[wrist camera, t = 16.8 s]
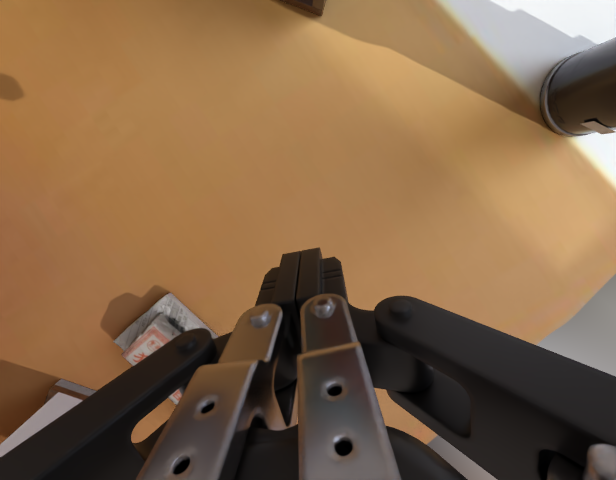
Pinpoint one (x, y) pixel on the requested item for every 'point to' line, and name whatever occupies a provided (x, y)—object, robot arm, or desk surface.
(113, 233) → the desk surface
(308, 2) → the book rack
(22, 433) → the notched white tower
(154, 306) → the packaged product
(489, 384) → the robot arm
